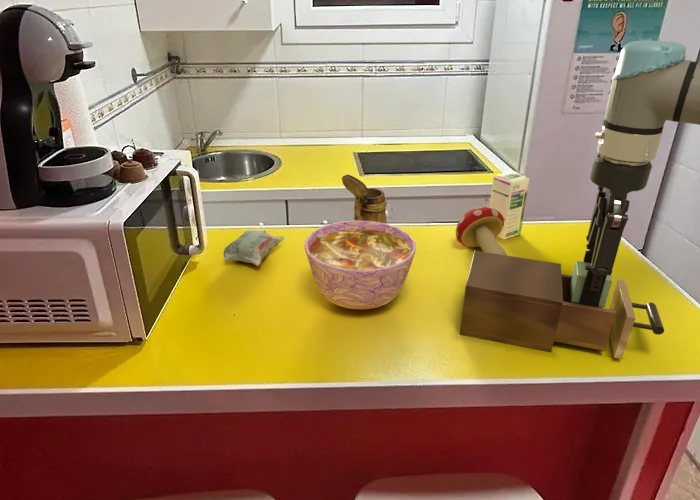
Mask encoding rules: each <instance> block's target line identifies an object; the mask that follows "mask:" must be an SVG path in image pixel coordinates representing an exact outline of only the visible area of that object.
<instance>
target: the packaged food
mask: <svg viewBox="0 0 700 500" xmlns="http://www.w3.org/2000/svg"><path fill="white" fill-rule="evenodd" d="M284 238H285V237H284V236H281V235H279V236H276V235H273V234H271V233H268V232H266V230H249V229H248V230H245V231H244V232H243V233H242V234H241V235H240V236H238V237H237V238H236V239H235V240H233V241H231V243H229V244H228V245H227V246H225V247H224V250H223V261H225V262H228V261H230V260H231V261H236V262H241V263H246V264H253V265H254V266H257V267H259V266H260V265H261V263H262V261H263V260H264V258H265V257H266V256H267V255H269V254H270V253H271V252H272V251H273V250H274V249H275V248H277V247H278V246H279V245H280V243H282V242H283V241H284V240H285V239H284Z"/></svg>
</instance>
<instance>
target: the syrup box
mask: <svg viewBox="0 0 700 500" xmlns="http://www.w3.org/2000/svg"><path fill="white" fill-rule="evenodd" d="M529 183H530V177H529V176H527V175H525V174H523V173H520V172H517V171H514V170H509V171H506V172H502V173H498V174H494V175H493V177H492V183H491V184H492V185H491V193H490V200H489V208H492V209H496V210H497V211H499V212H500V213H501V214H502V215H503V219H504V226H503V228H502V230H501V232H500V234H499V235H498V236H497V237H496V238H498V239H500V240H503V241H505V240H507V239H510V238H513V237H516V236H520V235H521V233H522V227H523V221H524V215H525V210H526V203H527V197H528V190H529Z"/></svg>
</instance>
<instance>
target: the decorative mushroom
mask: <svg viewBox="0 0 700 500" xmlns="http://www.w3.org/2000/svg"><path fill="white" fill-rule="evenodd" d="M503 226H504V219H503V215H502V214H501V213H500V212H499V211H497V210H496V209H492V208H490V207H488V206H479V207H478V206H477V207H475V208H472V209H469V210H468V211H466V212H465V213H464V214H463V215H462V216H461V218H459V220H458V222H457V225H456V227H455V237H456V241H457V242H458V243H460V244H461V245H462V246H463V247H467V248H481V252H487V253H493V254H500V255H507V256H508V253H507V251H506V250H505V248H503V247H502V245H501V244H500V243H499V242H498V240H497V239H496V238H498V237H497V236H498V235H499V234H500V232H501V230H502V228H503Z"/></svg>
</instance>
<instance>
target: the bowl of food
mask: <svg viewBox="0 0 700 500" xmlns="http://www.w3.org/2000/svg"><path fill="white" fill-rule="evenodd" d="M416 246H417V245H416V241H415V240H414V239H413V237H412V236H411V235H410V233H408V232H406V231H405V230H403V229H402V228H400V227H397V226H394V225H392V224H388V223H387V224H385V223H380V222H374V221H357V220H354V219H353V220H346V221H345V220H344V221H337V222H333V223H330V224H329V223H328V224H326V225H323V226H320V227H319V228H317V229H315V230H313V231H312V232H311V233H310V234H309V235H308V236H306V238H305V242H304V246H303V247H304V251H305V254H306V257H307V260H308V264H309V268H310V271H311V274H312V277H313V279H314V282H315V285H316V287H317V290H318V292H319V293H321V295H322V296H323V297H324V298H325V299H326V300H327V301H328V302H329V303H332V304H334V305H336V306H338V307H340V308H341V307H342V308H346V309H350V310H360V311H361V310H369V309H377V308H379V307H382V306H384V305H387V304H389V303H390V302H391V301H392V300H394V299H395V298H396V297H397V296H398V295H399V294H400V293H401V291H402V289H403V287H404V285H405V282H406V280H407V277H408V274H409V272H410V269H411V267H412V266H411V265H412V263H413V260H414V258H415V254H416V252H417V247H416Z"/></svg>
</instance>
